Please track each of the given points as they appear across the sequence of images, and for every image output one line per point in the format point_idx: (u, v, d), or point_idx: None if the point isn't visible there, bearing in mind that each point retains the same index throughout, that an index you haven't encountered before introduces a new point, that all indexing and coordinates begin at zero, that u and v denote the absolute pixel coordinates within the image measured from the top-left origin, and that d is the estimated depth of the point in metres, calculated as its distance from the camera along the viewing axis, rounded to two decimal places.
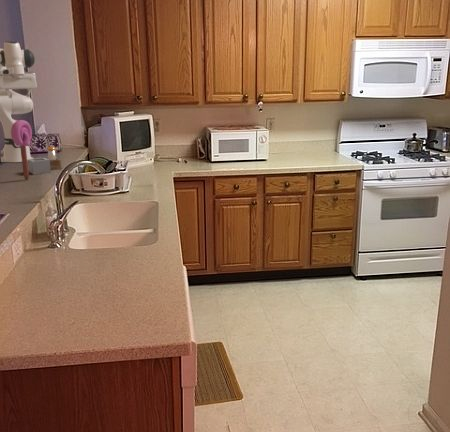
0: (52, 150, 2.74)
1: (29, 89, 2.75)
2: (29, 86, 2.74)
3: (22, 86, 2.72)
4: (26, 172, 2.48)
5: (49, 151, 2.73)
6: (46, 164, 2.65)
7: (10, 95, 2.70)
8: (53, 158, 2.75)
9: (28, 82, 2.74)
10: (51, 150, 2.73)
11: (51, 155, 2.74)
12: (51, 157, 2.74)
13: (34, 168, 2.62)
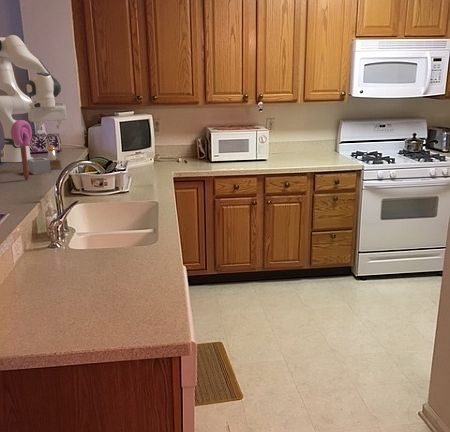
0: (52, 150, 2.74)
1: (59, 121, 2.73)
2: (60, 118, 2.72)
3: (52, 118, 2.70)
4: (26, 172, 2.48)
5: (49, 151, 2.73)
6: (46, 164, 2.65)
7: (40, 127, 2.68)
8: (53, 158, 2.75)
9: (58, 114, 2.71)
10: (51, 150, 2.73)
11: (51, 155, 2.74)
12: (51, 157, 2.74)
13: (34, 168, 2.62)
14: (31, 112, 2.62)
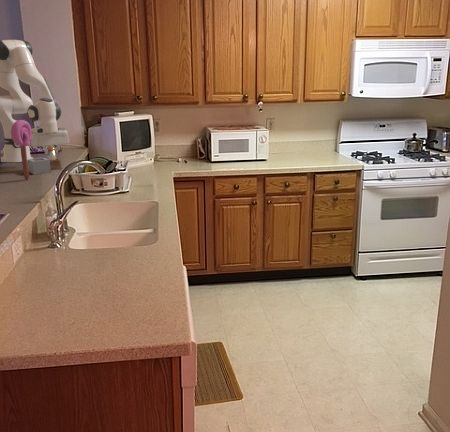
0: (52, 150, 2.74)
1: (58, 145, 2.76)
2: (62, 143, 2.76)
3: (54, 143, 2.73)
4: (26, 172, 2.48)
5: (49, 151, 2.73)
6: (46, 164, 2.65)
7: (47, 152, 2.73)
8: (53, 158, 2.75)
9: (60, 139, 2.75)
10: (51, 150, 2.73)
11: (51, 155, 2.74)
12: (51, 157, 2.74)
13: (34, 168, 2.62)
14: (34, 137, 2.66)
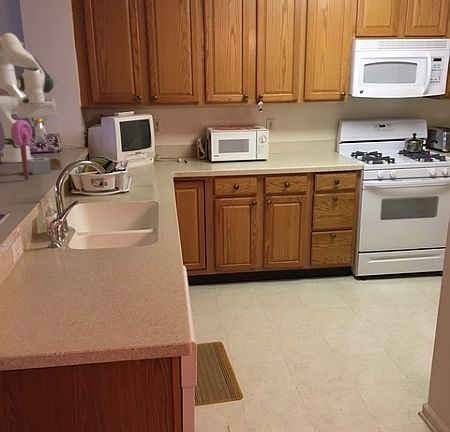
0: (39, 122, 2.61)
1: (45, 117, 2.63)
2: (49, 114, 2.64)
3: (41, 114, 2.61)
4: (26, 172, 2.48)
5: (36, 123, 2.61)
6: (46, 164, 2.65)
7: (33, 124, 2.61)
8: (40, 131, 2.62)
9: (48, 110, 2.63)
10: (38, 122, 2.61)
11: (38, 127, 2.62)
12: (38, 130, 2.62)
13: (34, 168, 2.62)
14: (19, 108, 2.54)
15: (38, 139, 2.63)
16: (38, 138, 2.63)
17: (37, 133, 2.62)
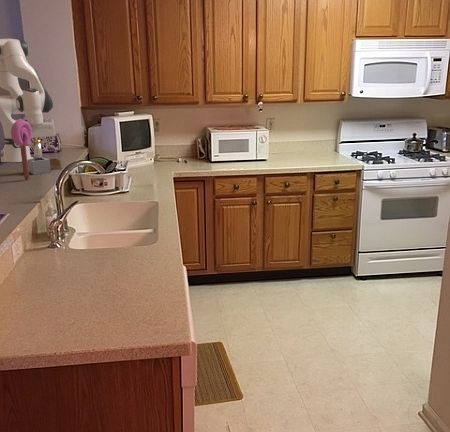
0: (38, 143, 2.62)
1: (44, 138, 2.64)
2: (48, 135, 2.65)
3: (40, 135, 2.62)
4: (26, 172, 2.48)
5: (34, 144, 2.62)
6: (46, 164, 2.65)
7: (32, 144, 2.62)
8: (39, 151, 2.63)
9: (46, 131, 2.64)
10: (36, 143, 2.62)
11: (36, 148, 2.63)
12: (36, 150, 2.63)
13: (34, 168, 2.62)
14: None
15: (37, 159, 2.64)
16: (37, 158, 2.64)
17: (36, 153, 2.63)
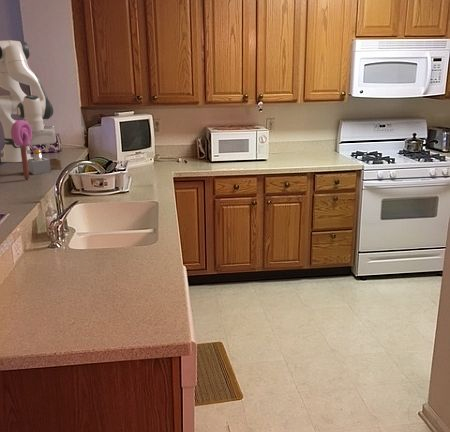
0: (39, 153, 2.64)
1: (48, 144, 2.66)
2: (49, 142, 2.66)
3: (41, 142, 2.63)
4: (26, 172, 2.48)
5: (35, 154, 2.64)
6: (46, 164, 2.65)
7: (29, 151, 2.62)
8: None
9: (47, 138, 2.65)
10: (37, 153, 2.63)
11: (37, 158, 2.64)
12: (37, 160, 2.64)
13: (34, 168, 2.62)
14: None
15: None
16: None
17: None
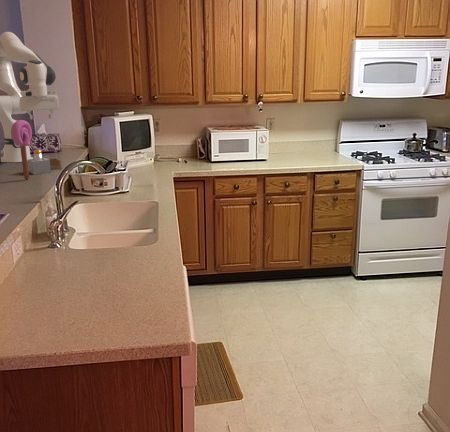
0: (39, 153, 2.64)
1: (51, 110, 2.67)
2: (52, 107, 2.66)
3: (44, 107, 2.64)
4: (26, 172, 2.48)
5: (35, 154, 2.64)
6: (46, 164, 2.65)
7: (32, 117, 2.63)
8: None
9: (50, 103, 2.65)
10: (37, 153, 2.63)
11: (37, 158, 2.64)
12: (37, 160, 2.65)
13: (34, 168, 2.62)
14: (22, 101, 2.57)
15: None
16: None
17: None
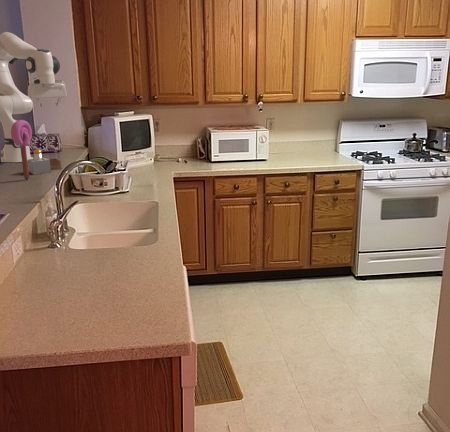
0: (39, 153, 2.64)
1: (59, 98, 2.73)
2: (59, 95, 2.72)
3: (52, 95, 2.70)
4: (26, 172, 2.48)
5: (35, 154, 2.64)
6: (46, 164, 2.65)
7: (40, 104, 2.68)
8: None
9: (58, 92, 2.71)
10: (37, 153, 2.63)
11: (37, 158, 2.64)
12: (37, 160, 2.64)
13: (34, 168, 2.62)
14: (31, 88, 2.62)
15: None
16: None
17: None
